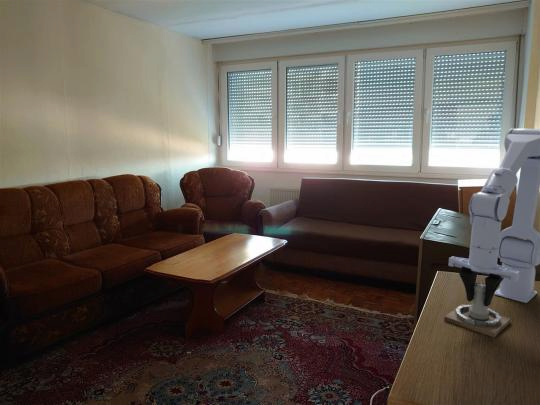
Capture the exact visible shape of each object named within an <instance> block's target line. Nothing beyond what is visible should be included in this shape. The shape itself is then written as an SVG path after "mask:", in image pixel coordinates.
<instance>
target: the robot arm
mask: <svg viewBox="0 0 540 405" xmlns="http://www.w3.org/2000/svg"><path fill="white" fill-rule="evenodd" d="M503 145H504V148H505V154H504V158H503V159H502V162H501V164H500V166H499V168H495V169H494V170H492V171H491V173H490V174H489V176H488V178H487V180H486V181H485V183H484V184H483V186H482V188H481V190H480V191H478V192H476V193H473V194H472V196H471V198H470V200H469V204H468V213H469V223H470V225H471V234H470V242H469V243H470V245H469V256H468V258H466V257H465V258H464V257H459V256H458V257H457V256H451V257H448V267H457V268H460V269H461V270H460V271H459V277H460V279H461V281H462V283H463V287H464V290H465V293H466V299H467V300H466V301H467V302H472V301H474V297H475V294H474V292H475V289H474V286H475V285H476V281H477V277H478V274H480V273H481V274H486V275H488V276H486V277H485V278H484V283H485V299H484V306H487V307H489V306H490V305H492V304H491V303H492V300H493V298H494V296H497V297H498V296H499V297H501V298H506V299H509V300H514V301H517V302H521V303H525V304H527V303H528V302H530V301H531V300H532V299H533V298H535V296H536V295H537V294H538V291H537V290H534V287H535V279H536V268H535V267H537V266H538V265H540V232H538V231H537V229H535V227H534V226H535V219H536V212H537V207H538V201H539V195H540V194H539V193H540V128H515V127H511V128H510V129H509V130H507V132H506V134H505V138H504V144H503ZM518 172H519V179H518V176H517V174H518ZM517 184H518V186H517ZM516 186H517V191H516V198H515V205H514V209H513V210H514V211H513V217H512V223H511V226H509V227H506V228H505V229H502V221H503V220H504V219H505V218H506V216H507V213H508V209H509V206H510V202H511V200H510V197H511V195H512V193H513V191H514V189H515V187H516ZM498 259H500V260H499V262H502V263H501V265H500V264H498Z"/></svg>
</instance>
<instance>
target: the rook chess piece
mask: <svg viewBox="0 0 540 405" xmlns="http://www.w3.org/2000/svg"><path fill="white" fill-rule="evenodd" d="M474 289H475V292H474V294H475V295H474V299H473V300H472V301H473V302H472V303H471V304H470V305H471V307H469V312H468V314H469V315H470V317H472V318H474V319H477V320H486V319H488V318H489V315H488V314H489V310H488V307H489V306H488V307H487V306H484V299H485V282H481V281H478V282H476V283H475V286H474Z"/></svg>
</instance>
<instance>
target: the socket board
mask: <svg viewBox="0 0 540 405" xmlns="http://www.w3.org/2000/svg"><path fill="white" fill-rule="evenodd" d="M471 305H472V304H464V303H461V304H460V305H458V306H457V307H456V308H454V309H453V310H452V311H450V312H448V314H446V315H445V316H444V317H443V318H444V319H443V320H444V321H445V322H448V323H449V324H450V323H451V324H454V325H456V326H460V327H463V328H464V329H465V328H466V329H469V330H471V331H474V332H477V333H480V334H483V335H486V336H487V337H488V336H489V337H492V338H496V337H497V336H498V334H500V333H501V332H502V331H503V330H504V329H505V328H506V327H507V326H508V325H509V324H510V323H511V319H512V318H511V317H507V316H504V315H501V314H499V313H498V312H497V311H495V310H493V309H491V308H488V310H489V314H488V315H489V318H488V319H486V320H477V319H474V318H472V317H470V315H469V314H468V312H469V307H471Z"/></svg>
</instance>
